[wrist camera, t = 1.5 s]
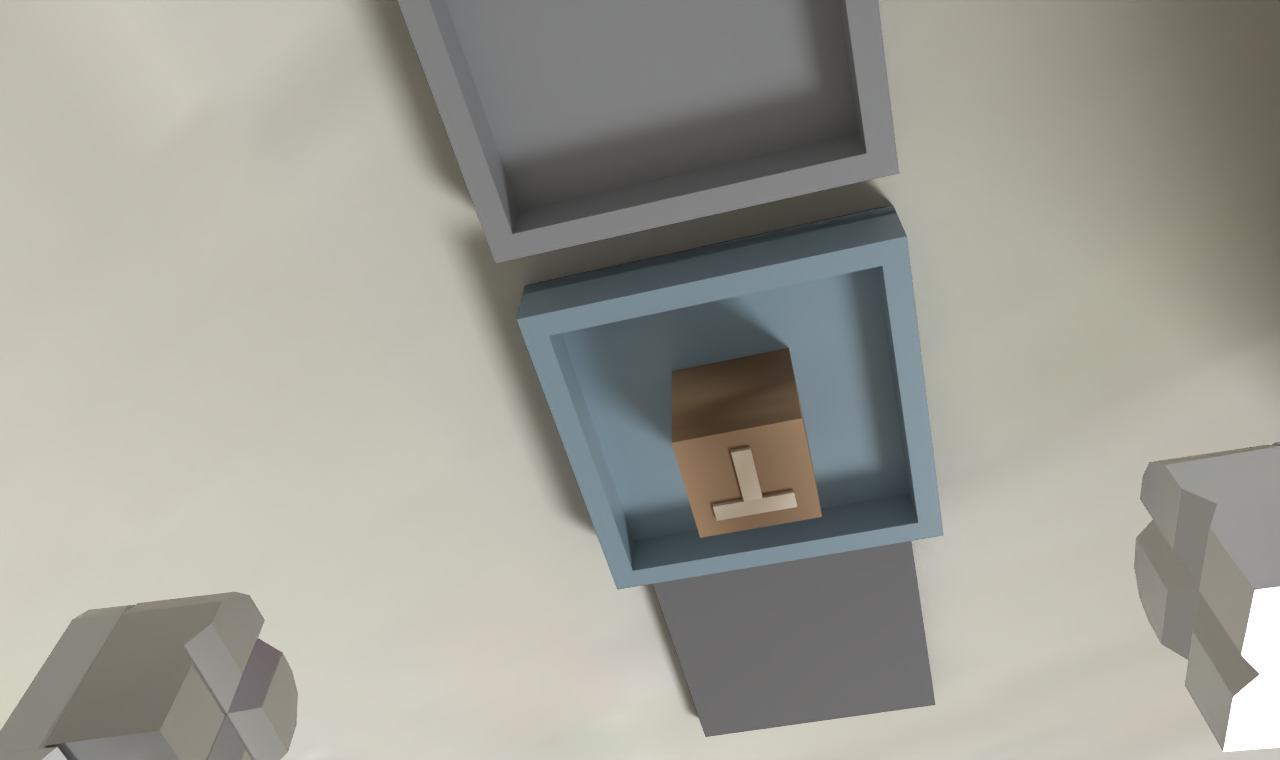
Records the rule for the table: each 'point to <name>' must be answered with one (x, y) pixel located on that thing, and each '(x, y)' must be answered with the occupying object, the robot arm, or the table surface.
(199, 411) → the table surface
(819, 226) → the slate tray
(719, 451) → the letter cube
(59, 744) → the robot arm
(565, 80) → the charcoal tray
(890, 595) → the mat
